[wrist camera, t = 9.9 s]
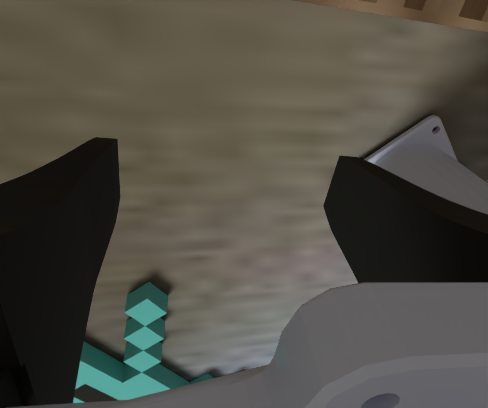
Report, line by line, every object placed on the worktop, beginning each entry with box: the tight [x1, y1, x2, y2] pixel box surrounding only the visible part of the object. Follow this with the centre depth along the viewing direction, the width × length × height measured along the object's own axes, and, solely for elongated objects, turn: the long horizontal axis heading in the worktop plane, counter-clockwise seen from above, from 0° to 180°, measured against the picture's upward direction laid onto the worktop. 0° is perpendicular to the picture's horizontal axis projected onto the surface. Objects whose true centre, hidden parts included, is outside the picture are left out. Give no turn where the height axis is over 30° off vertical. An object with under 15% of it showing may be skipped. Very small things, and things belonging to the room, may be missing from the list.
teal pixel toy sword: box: [73, 282, 214, 403], centre depth 35 cm, size 20×2×20 cm
